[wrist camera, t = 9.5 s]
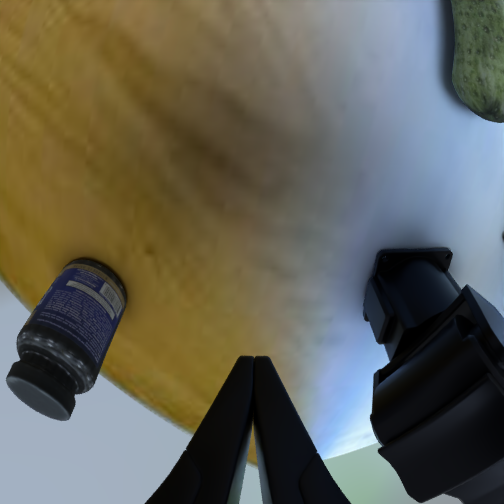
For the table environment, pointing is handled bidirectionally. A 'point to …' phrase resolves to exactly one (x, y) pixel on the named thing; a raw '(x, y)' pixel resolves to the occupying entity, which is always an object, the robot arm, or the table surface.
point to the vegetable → (479, 56)
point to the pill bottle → (67, 338)
